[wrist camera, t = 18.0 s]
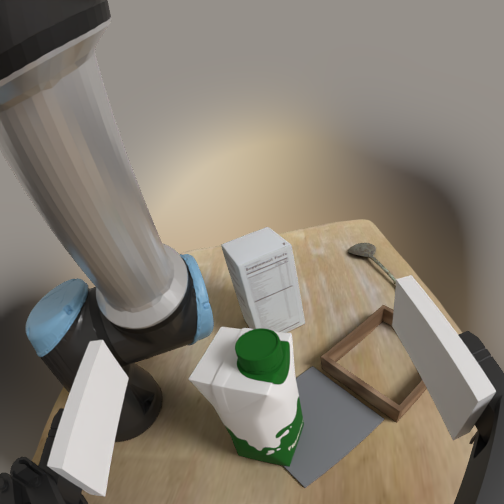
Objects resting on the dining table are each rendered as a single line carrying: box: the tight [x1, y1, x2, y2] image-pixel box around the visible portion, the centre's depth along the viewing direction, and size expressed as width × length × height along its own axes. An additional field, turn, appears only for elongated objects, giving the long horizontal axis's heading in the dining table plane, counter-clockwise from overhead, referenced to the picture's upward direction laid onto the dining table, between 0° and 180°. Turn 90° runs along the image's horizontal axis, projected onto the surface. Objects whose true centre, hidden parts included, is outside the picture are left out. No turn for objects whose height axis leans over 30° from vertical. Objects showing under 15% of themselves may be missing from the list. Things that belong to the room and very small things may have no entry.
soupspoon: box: [348, 243, 396, 284], centre depth 66 cm, size 22×3×7 cm
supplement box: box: [221, 227, 305, 333], centre depth 55 cm, size 10×9×17 cm
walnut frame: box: [321, 305, 427, 422], centre depth 43 cm, size 15×15×3 cm
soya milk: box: [189, 327, 304, 467], centre depth 32 cm, size 9×9×20 cm
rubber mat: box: [284, 366, 384, 488], centre depth 38 cm, size 15×14×1 cm
